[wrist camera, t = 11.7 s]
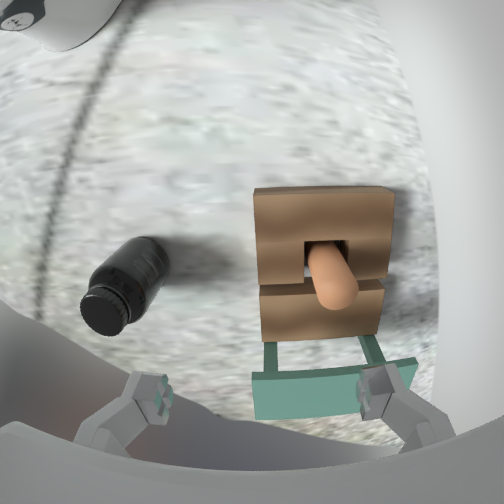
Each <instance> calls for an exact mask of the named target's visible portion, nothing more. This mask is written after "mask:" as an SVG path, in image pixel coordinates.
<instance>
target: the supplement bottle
mask: <svg viewBox="0 0 504 504" xmlns="http://www.w3.org/2000/svg"><path fill="white" fill-rule="evenodd" d="M168 273H169V261H168V258H167V255H166V253H165V252H164V250H163V249H162V248H161V247H160V246H159V245H158V244H157V243H156V242H154V241H152V240H150V239H147V238H141V237H139V238H133V239H131V240H129V241H127V242H126V243H125V244H123V245H122V246H121V247H120V248H119V249H118V250H117V251H116V252H114V253H113V254H112V255H111V256H110V257H109V258H108V259H107V260H106V261H105V262H104V263H102V264H101V265H100V266H99V267H98V268H97V269H96V270H95V271H94V273H93V274H92V275H91V278H90V280H89V287H88V289H89V291H88V292H87V294H86V295H85V296H84V297H83V299H82V300H81V303H80V305H81V306H80V309H81V310H80V311H81V315H82V316H83V319H84V320H85V322H86V323H87V324H88V326H89V327H91V328H92V330H94V331H95V332H97V333H99V334H101V335H104V336H108V337H109V336H116V335H117V334H119V333H120V332H121V331H122V330H123V328H124V327H125V326H126V325H127V324H131V323H134V322H137V321H138V320H140V319H141V318H142V317H143V315H144V314H145V312H146V311H147V309H148V308H149V306H150V304H151V303H152V301H153V299H154V298H155V296H156V295H157V293H158V291H159V290H160V288H161V287H162V285H163V283H164V282H165V280H166V278H167V276H168Z"/></svg>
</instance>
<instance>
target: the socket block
mask: <svg viewBox="0 0 504 504" xmlns="http://www.w3.org/2000/svg"><path fill="white" fill-rule="evenodd" d="M394 199H395V193H393V192H391V191H389V190H387V189H385V188H384V187H382V186H304V187H275V188H255V189H254V194H253V203H254V218H255V234H256V250H257V267H258V283H259V285H260V292H259V300H260V316H261V333H262V342H280V341H301V340H317V339H331V338H343V337H354V336H364V335H373V334H377V331H378V326H379V321H380V315H381V310H382V304H383V298H384V292H385V289H384V287H383V286H382V284H381V283H380V281H379V280H378V279H380V278H387V272H388V265H389V257H390V248H391V238H392V227H393V215H394ZM325 240H340V247H339V251H340V253H341V254H342V256H343V258H344V260H345V261H346V263H347V265H348V267H349V268H350V270H351V272H352V274H353V276H354V277H355V279H356V281H357V283H358V287H359V291H358V295H357V297H356V299H355V300H354V302H353V303H352V304H351V305H349V306H348V307H346V308H344V309H340V310H330V309H327V308H325V307H324V306H322V305H321V303H320V302H319V300H318V297H317V293H316V290H315V286H314V283H313V279H312V277H304V241H325Z"/></svg>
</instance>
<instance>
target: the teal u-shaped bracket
mask: <svg viewBox="0 0 504 504" xmlns="http://www.w3.org/2000/svg"><path fill="white" fill-rule="evenodd" d="M358 339H359V341H360V344H361V346H362V349H363V352H364V354H365V357H366V360H367V363H368V364H365V365H357V366H348V367H338V368H327V369H314V370H298V371H278V358H277V342H264V372H252V390H253V400H254V410H255V420H281V419H301V418H314V417H326V416H335V415H344V414H352V413H359V412H360V406H361V403H359V402H358V401H357V397H356V383H357V380H359V379H360V377H359V371H360V369H361V368H365V367H371V366H378V365H385V364H391V363H394V364H396V366H397V369H398V371H399V373H400V376H401V378H402V380H403V382H404V385H405V387H406V390H409V388H410V385H411V383H412V380H413V377H414V375H415V372H416V370H417V367H418V362H417V360H416V358H415V357H412V358H406V359H400V360H394V361H387V362H386V360H385V358H384V356H383V353H382V351H381V349H380V347H379V344H378V342H377V340H376V338H375V336H374V334H373V335H364V336H358Z"/></svg>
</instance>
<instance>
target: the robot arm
mask: <svg viewBox="0 0 504 504" xmlns="http://www.w3.org/2000/svg"><path fill="white" fill-rule="evenodd" d="M121 1H122V0H0V30H6V31H18V32H20V33H22V34H24V35H26V36H28V37H30V38H32V39H33V40H35V41H37V42H38V43H39V44H41V45H42V46H43V47H44V48H45V49H47V50H49V51H54V52H61V51H66V50H69V49H72V48H74V47H76V46H78V45H80V44H81V43H83V42H85V41H86V40H87V39H89V38H90V37H91V36H93V35H94V34H95V33H96V32H97V31H98V30H99V29H100V28H101V27H102V26H103V25H104V24H105V23H106V22H107V21H108V19H109V18H110V17H111V15H112V14H113V13H114V11H115V10H116V8H117V7H118V5H119V4H120V2H121ZM359 377H360V379H359V380H357V383H356V397H357V401H358V402H359V403H361V406H360V413H361V417H362V420H363V421H367V420H373V419H380V418H381V420H382V421H383V422H384V423H386V424H387V425H388V426H389V427H390V428H391V429H392V430H393V431H394V432H395V433H396V434H397V435H398V436H399V437H400V438H401V439H402V440H403V441H404V442H406V443H405V444H404V446H403V447H402V449H401V450H400V452H399V453H398V454H396V455H392V456H388V457H383V458H379V459H374V460H369V461H364V462H358V463H352V464H346V465H339V466H332V467H323V468H314V469H304V470H303V469H302V470H289V471H223V470H207V469H197V468H187V467H178V466H172V465H164V464H158V463H153V462H147V461H141V460H137V459H132V458H131V457H130V455H129V454H128V453H127V452H126V450H125V449H124V448H125V447H126V446H127V445H128V444H129V443H130V442H131V441H132V440H133V439H134V438H135V437H136V436H137V435H138V434H139V433H140V432H142V430H143V429H145V428H146V427H147V426H148V424H158V425H166V424H167V420H168V417H169V412H168V410H167V409H168V408H170V407H171V406H172V402H173V390H172V387H171V386H170V385H169V384H168V377H167V375H166V374H159V373H149V372H140V371H133V372H132V373H131V375H130V378H129V380H128V382H127V384H126V386H125V389H124V391H123V393H122V396H121V397H117V398H116V399H115V400H113V401H112V402H110V403H109V404H107V405H106V406H105V407H103V408H102V409H100V410H99V411H97V412H96V413H95V414H93V415H92V416H90V417H89V418H88V419H86V420H85V421H83V422H82V423H81V426H80V428H79V430H78V432H77V434H76V436H75V438H74V441H73V443H72V442H69V441H67V440H64V439H61V438H58V437H55V436H53V435H50V434H47V433H45V432H42V431H40V430H37V429H35V428H33V427H30V426H28V425H26V424H23V423H21V422H18V421H14V422H11V423H9V424H7V425H5V426H3V427H1V428H0V504H504V415H503V416H501V417H499V418H497V419H495V420H493V421H491V422H489V423H486V424H484V425H482V426H480V427H477V428H475V429H473V430H470V431H468V432H465V433H463V434H460V435H457V436H456V434H455V432H454V430H453V427H452V425H451V423H450V420H449V418H448V416H447V414H445V413H444V412H442V411H441V410H439V409H437V408H436V407H435V406H433V405H432V404H430V403H429V402H427V401H426V400H424V399H423V398H421V397H420V396H418V395H417V394H415V393H414V392H413V391H411V390H406V387H405V385H404V382H403V380H402V378H401V376H400V373H399V371H398V369H397V366H396V364H394V363H391V364H385V365H378V366H371V367H365V368H361V369H360V371H359Z"/></svg>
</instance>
